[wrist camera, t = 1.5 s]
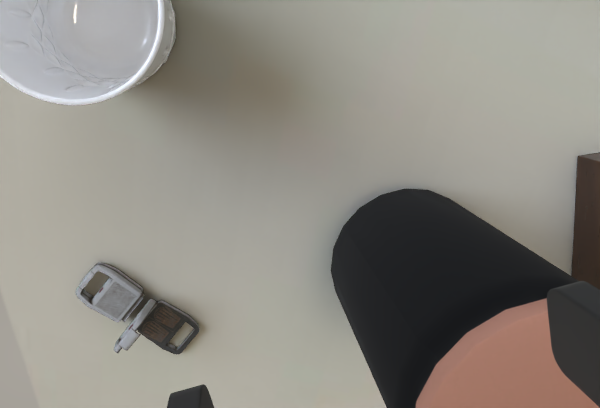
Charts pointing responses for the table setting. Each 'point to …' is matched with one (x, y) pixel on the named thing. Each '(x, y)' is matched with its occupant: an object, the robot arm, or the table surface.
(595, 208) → the stop block
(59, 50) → the white cup
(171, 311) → the strap clip
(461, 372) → the coffee jar
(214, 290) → the table surface
